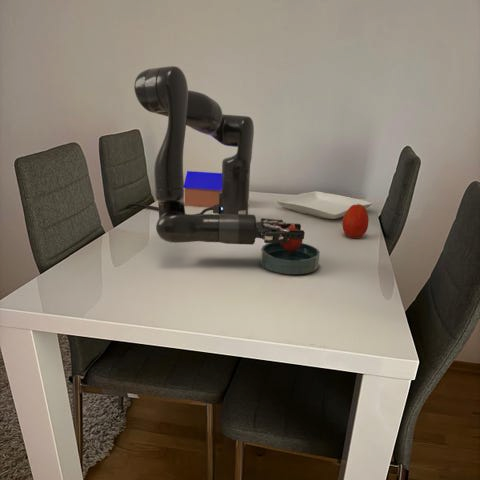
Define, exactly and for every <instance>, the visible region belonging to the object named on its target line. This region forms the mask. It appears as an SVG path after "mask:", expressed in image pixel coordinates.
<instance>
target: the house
mask: <svg viewBox="0 0 480 480" xmlns="http://www.w3.org/2000/svg"><path fill="white" fill-rule="evenodd" d="M183 189H184V206H188V207H203V208H210V207H213V206H214V205H217V204H219V192H220V191H222V172H208V171H195V170H194V171H193V170H187V171H186V175H185V178H184V188H183Z"/></svg>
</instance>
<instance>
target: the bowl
mask: <svg viewBox="0 0 480 480" xmlns="http://www.w3.org/2000/svg"><path fill="white" fill-rule="evenodd" d="M260 251H261V252H260V264H261V266H262V267H264V268H265V269H266V270H268V271H271V272H275V273H278V274H285V275H305V274H309V273H312V272H315V271H316V270H317V269H318V268H319V264H320V263H319V262H320V256H321V251H320V250H319V248H318V247H317V248H316V247H315V246H313V245H310V244H308V243H304V242H302V244H301V246H300V247H299V248H298V249H297V250H296V251H294V252H293V253H291V254H289V253H288V252H287V251H286V250H285V249H284V248H283V247H282V246H281V244H280V243H265V244H264V245H262V247H261V249H260Z"/></svg>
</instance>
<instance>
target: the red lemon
mask: <svg viewBox="0 0 480 480" xmlns="http://www.w3.org/2000/svg"><path fill="white" fill-rule="evenodd" d="M295 224H296V223H294V224H291V226H290V227H288V228H286V229H288V230H298V229H297V228H296V227H295ZM281 236H283V235H281ZM302 243H303V239H289V240H287V242H286V243H285V242H284V243H280V244H281V246H282V247H283V248H284V249H285V250H286V251H287V252H288V253H289V254H291V253H293V252H294V251H296V250H297V249H298V248H299V247H300V246H301V244H302Z"/></svg>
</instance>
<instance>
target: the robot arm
mask: <svg viewBox="0 0 480 480" xmlns="http://www.w3.org/2000/svg"><path fill="white" fill-rule="evenodd" d="M133 86H134V94H135V96H136V99H137V101H138V103H139V104H140V105H141V107H143V108H144V109H145V110H146V111H147V112H149V113H151V114H152V113H153V114H157V115H161V116H164V117H167V128H166V132H165V134H164V138H163V140H162V144H161V146H160V148H159V150H158V152H157V156H156V157H155V161H154V167H153V168H154V169H153V174H154V190H155V197H156V200H157V204H158V205H157V206H154V205H148V204H141V203H136V202H131V203H127V204H125V206H124V207H123V209H124V210H127V209H129V208H130V207H139V208H144V209H152V210H155V211H158V220H157V222H156V224H155V229H156V233H157V235H158V237H159V238H160V239H161V240H163V241H164V242H167V243H193V242H202V243H221V244H227V245H251V246H252V245H254V244H255V243H256V239H261V240H263V242H264V243H265V244H268V243H284V242H285V243H286V242H287V240H289V239H302V240H304V239H305V233H306V232H305V230H303V229H302V225H301V224H300V223H293V222H292V223H290V222H289V223H288V222H286V221H284V220H283V219H275V218H274V219H273V218H265V217H261V218H260V221H257V217H256V215H255V214H249V205H250V203H249V201H250V184H251V183H250V182H251V164H252V158H253V155H252V154H253V146H254V135H255V125H254V120H253V119H252V118H251V116H248V115H238V114H237V115H236V114H224V113H223V109H222V107H221V105H220V104H219V103H218V102H217V101H216V100H215V99H213V98H211V97H210V96H208V95H207V94H205V93H203V92H202V93H201V92H199V91H196V90H189V87H188V86H189V85H188V80H187V78H186V75H185V73H184V71H183V70H182V69H181V68H180V67H179V66H174V65H169V66H162V67H154V68H148V69H145V70H142V71H141V72H140V73H138V74H137V76H136V77H135V80H134V85H133ZM187 127H189V128H191V129H192V130H194V131H197V132H199V133H202V134H204V135H207V136H210V137H212V138H213V139H214V140H216V141H217V142H218V143H220V144H221V145H223V146H226V147H231V148H232V147H234V148H237V149H236V153H235V154H234V155H232V156H228V157H225V158H224V159H222V162H221V173H222V191H220V192H219V204H217V205H214V206H213V207H206V208H204V209H203V210H201V212H198V213H195V214H190V213H186V208H185V188H184V183H185V180H184V149H185V148H184V147H185V138H186V130H187ZM209 211H212V213H207V212H209ZM291 224H295V227H296V228H297V229H298V230H288V229H286V228H288V227H290V226H291ZM281 235H283V236H281Z"/></svg>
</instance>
